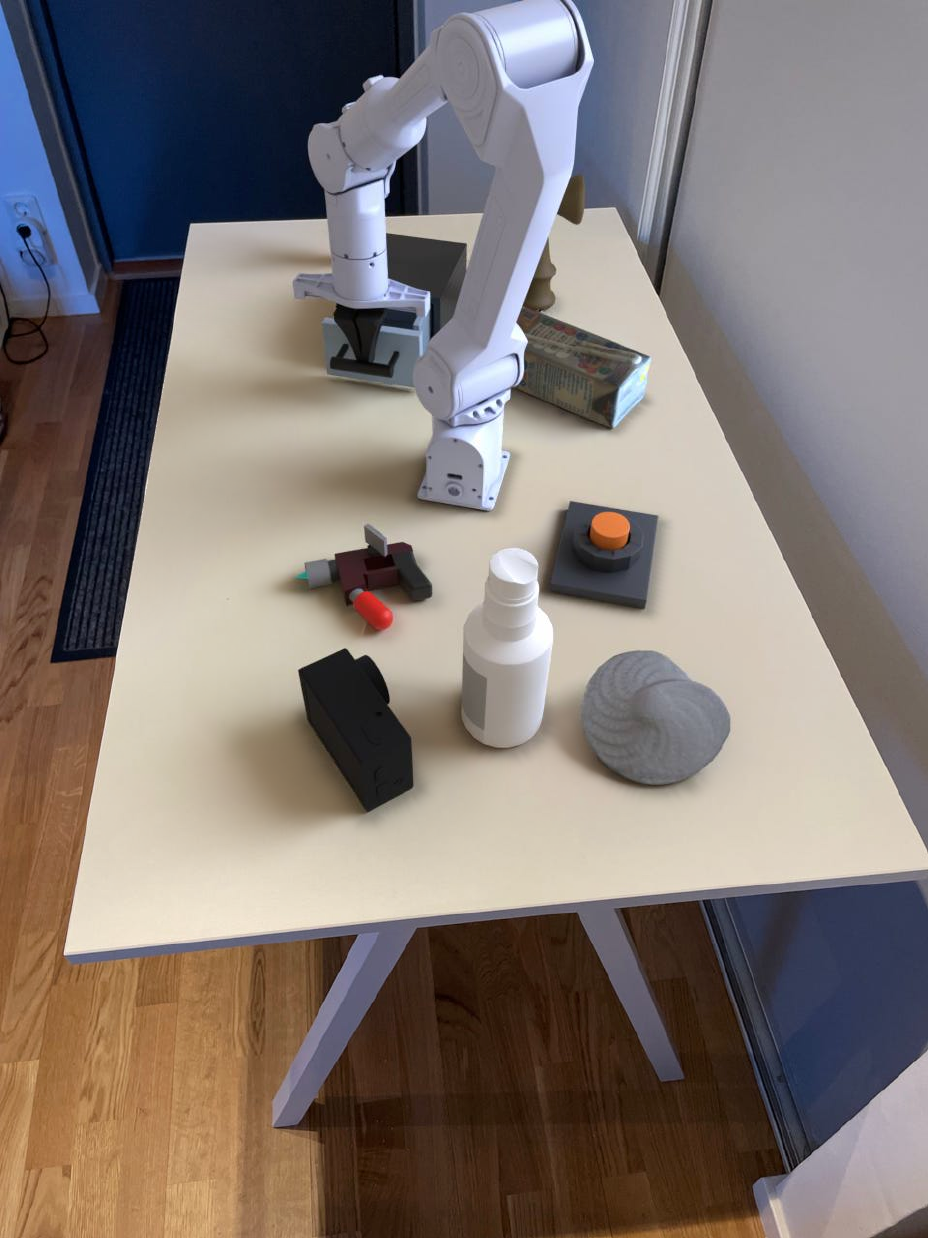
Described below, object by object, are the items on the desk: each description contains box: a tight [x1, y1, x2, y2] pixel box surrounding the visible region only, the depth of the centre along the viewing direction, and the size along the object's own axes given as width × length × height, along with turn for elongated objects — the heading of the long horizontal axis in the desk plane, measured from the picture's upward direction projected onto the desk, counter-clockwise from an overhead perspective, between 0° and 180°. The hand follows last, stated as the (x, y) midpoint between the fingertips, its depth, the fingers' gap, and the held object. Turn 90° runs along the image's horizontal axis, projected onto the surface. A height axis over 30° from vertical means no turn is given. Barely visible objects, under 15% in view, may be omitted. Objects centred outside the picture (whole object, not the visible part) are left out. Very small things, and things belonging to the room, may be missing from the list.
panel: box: [549, 500, 659, 610], centre depth 89 cm, size 12×9×3 cm
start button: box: [590, 512, 630, 550], centre depth 87 cm, size 4×4×2 cm
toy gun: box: [295, 523, 433, 631], centre depth 84 cm, size 10×12×5 cm
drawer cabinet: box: [386, 232, 468, 336], centre depth 113 cm, size 14×13×9 cm
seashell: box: [580, 649, 732, 786], centre depth 74 cm, size 12×6×10 cm
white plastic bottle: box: [461, 547, 554, 749], centre depth 70 cm, size 7×7×18 cm
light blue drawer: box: [321, 303, 434, 389], centre depth 107 cm, size 17×11×7 cm
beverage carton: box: [513, 306, 652, 430], centre depth 106 cm, size 8×19×7 cm, turn 55°
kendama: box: [522, 173, 586, 311], centre depth 114 cm, size 6×10×20 cm, turn 91°
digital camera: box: [297, 647, 415, 813], centre depth 72 cm, size 10×5×7 cm, turn 33°
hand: (366, 362), depth 103 cm, fingers closed, pressing on light blue drawer
